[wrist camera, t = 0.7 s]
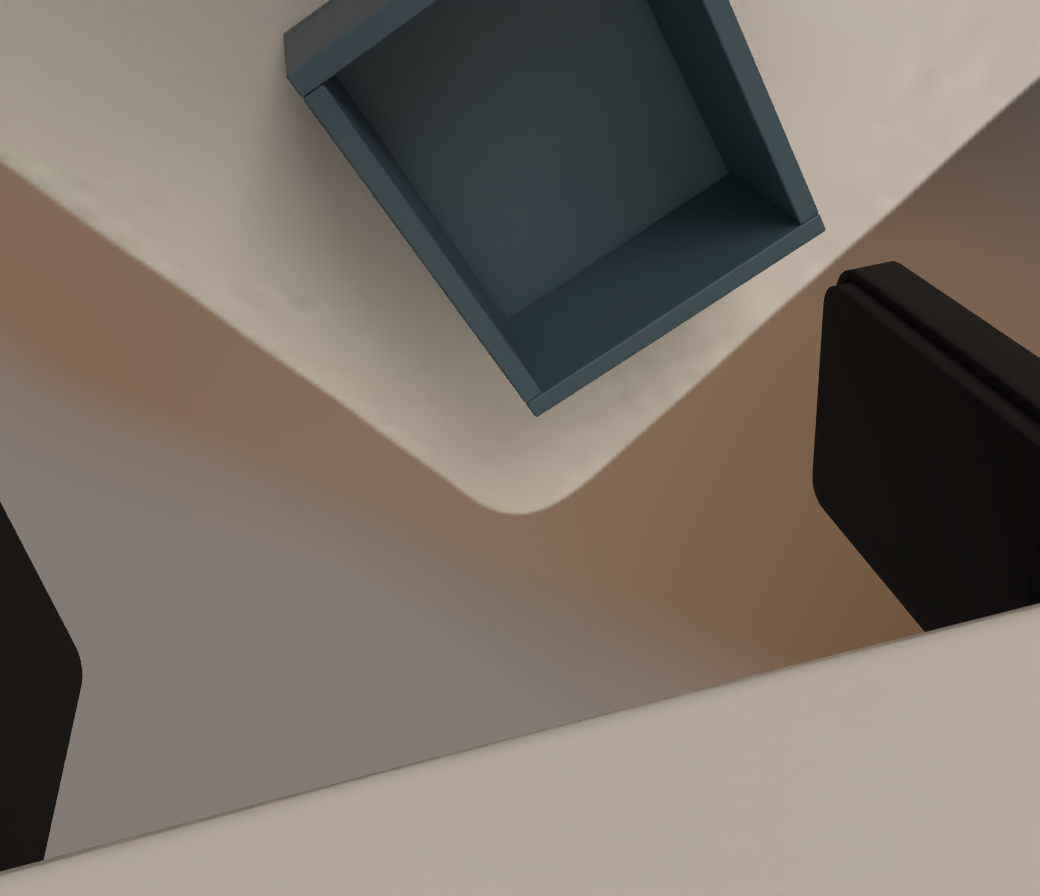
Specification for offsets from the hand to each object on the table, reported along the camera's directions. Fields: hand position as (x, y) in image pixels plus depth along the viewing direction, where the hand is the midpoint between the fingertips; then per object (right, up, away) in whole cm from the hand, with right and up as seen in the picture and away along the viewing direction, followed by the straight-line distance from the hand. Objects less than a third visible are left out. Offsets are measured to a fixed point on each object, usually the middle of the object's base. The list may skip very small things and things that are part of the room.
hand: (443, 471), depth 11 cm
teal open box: (+1, +12, +23) cm, 26 cm away
